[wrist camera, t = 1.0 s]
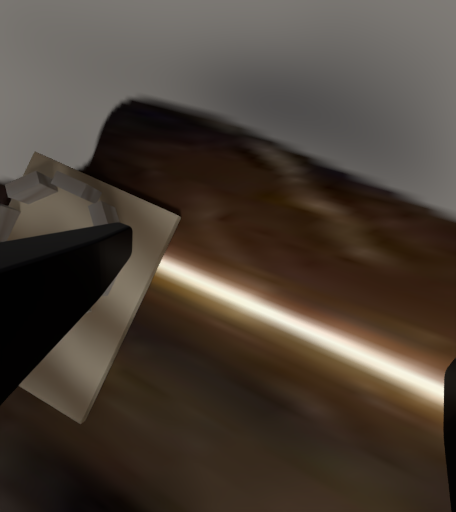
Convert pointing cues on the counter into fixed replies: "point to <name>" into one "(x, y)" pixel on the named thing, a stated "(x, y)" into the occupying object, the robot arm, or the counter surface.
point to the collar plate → (117, 294)
